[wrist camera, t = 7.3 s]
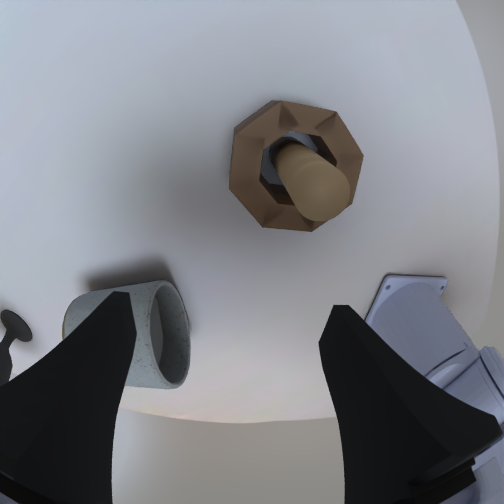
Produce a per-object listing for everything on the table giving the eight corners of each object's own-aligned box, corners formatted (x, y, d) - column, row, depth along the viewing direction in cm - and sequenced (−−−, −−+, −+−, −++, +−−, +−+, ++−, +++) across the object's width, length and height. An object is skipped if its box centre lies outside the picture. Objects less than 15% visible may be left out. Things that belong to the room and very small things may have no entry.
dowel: (299, 174, 17) (340, 225, 11) (265, 167, 17) (287, 216, 10) (307, 140, 16) (357, 173, 10) (272, 133, 16) (301, 159, 9)
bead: (325, 211, 19) (343, 235, 16) (226, 200, 18) (225, 224, 15) (345, 114, 15) (370, 120, 12) (238, 96, 14) (239, 95, 11)
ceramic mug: (78, 275, 20) (39, 345, 13) (165, 257, 20) (141, 340, 13) (131, 357, 26) (116, 422, 19) (206, 350, 25) (203, 423, 19)
